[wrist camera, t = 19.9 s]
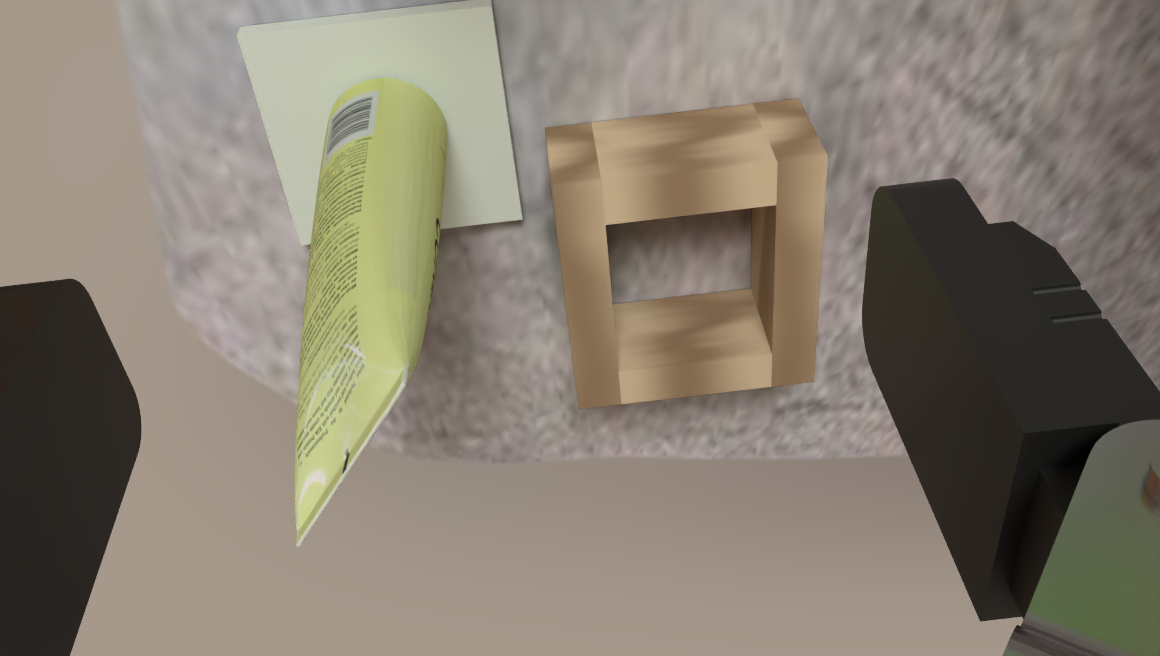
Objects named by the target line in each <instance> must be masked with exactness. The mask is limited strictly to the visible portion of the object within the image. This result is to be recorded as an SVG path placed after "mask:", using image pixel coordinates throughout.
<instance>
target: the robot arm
mask: <svg viewBox="0 0 1160 656" xmlns="http://www.w3.org/2000/svg"><path fill="white" fill-rule="evenodd" d="M1080 284H1081V283H1080V281H1079V280H1078V279H1077V277H1076V276H1075V275H1074V273H1073V272H1072V270H1071V269H1070V268H1069V266H1068V265H1067V264H1066V262H1065V261H1064V259H1063V258H1062V257H1061V255H1060V254H1059V253H1058V251H1057V250H1056V249H1055V248H1054V247H1052V246H1051V245H1049V244H1048V243H1046V242H1045V241H1043V240H1041V239H1040V238H1038V237H1037V236H1035V235H1034V234H1032V233H1031V232H1029V231H1028V230H1026V229H1024V228H1023V227H1021V226H1020V225H1018V224H1017V223H1015V222H1014V221H1011V222H1002V223H993V224H988V223H987V222H986V220H985V219H984V217H983V216H982V214H981V213H980V211H979V210H978V208H977V207H976V205H975V204H974V202H973V201H972V199H971V198H970V196H969V194H968V193H967V191H966V190H965V188H964V187H963V185H962V184H961V183H960V182H959V181H958V180H957V179H954V178H950V179H941V180H933V181H924V182H916V183H907V184H898V185H890V186H882V187H879V188H878V189H877V190H876V192H875V195H874V198H873V202H872V209H871V219H870V230H869V241H868V251H867V262H866V273H865V284H864V294H863V305H862V326H863V336H864V343H865V348H866V353H867V357H868V360H869V364H870V366H871V369H872V371H873V374H874V376H875V378H876V381H877V383H878V385H879V388H880V390H881V392H882V395H883V397H884V399H885V402H886V404H887V406H888V409H889V411H890V413H891V416H892V418H893V420H894V422H895V425H896V427H897V429H898V432H899V434H900V436H901V439H902V441H903V443H904V446H905V448H906V450H907V453H908V455H909V457H910V460H911V462H912V464H913V467H914V469H915V471H916V473H917V476H918V478H919V481H920V483H921V485H922V487H923V490H924V492H925V494H926V497H927V499H928V501H929V504H930V506H931V508H932V511H933V513H934V515H935V518H936V520H937V522H938V525H939V527H940V529H941V532H942V534H943V536H944V539H945V541H946V543H947V546H948V548H949V550H950V552H951V555H952V557H953V559H954V562H955V564H956V566H957V569H958V571H959V573H960V576H961V578H962V580H963V583H964V585H965V587H966V590H967V592H968V594H969V597H970V599H971V601H972V603H973V606H974V608H975V611H976V613H977V615H978V617H979V620H980V621H988V620H996V619H1005V618H1013V617H1023V619H1024V621H1023V623H1022V625H1021V626H1018V625H1017V626H1016V627H1015V629H1014V631H1013V633H1012V635H1011V637H1010V640H1009V642H1008V644H1007V647H1006V649H1005V651H1004V654H1003V656H1160V392H1159V390H1158V389H1157V387H1156V386H1155V385H1154V383H1153V382H1152V381H1151V379H1150V378H1149V376H1148V375H1147V374H1146V372H1145V371H1144V370H1143V368H1142V367H1141V365H1140V364H1139V363H1138V361H1137V360H1136V359H1135V357H1134V356H1133V354H1132V353H1131V352H1130V350H1129V349H1128V348H1127V346H1126V345H1125V343H1124V342H1123V341H1122V339H1121V338H1120V337H1119V335H1118V334H1117V332H1116V331H1115V330H1114V328H1113V327H1112V326H1111V324H1110V323H1109V321H1108V320H1107V319H1102V317H1101V310H1100V309H1099V308H1098V306H1097V305H1096V303H1095V302H1094V301H1093V299H1092V298H1091V297H1090V295H1089V294H1088V292H1087V291H1086V290H1081V287H1080ZM140 441H141V416H140V409H139V404H138V400H137V397H136V394H135V391H134V389H133V386H132V384H131V382H130V380H129V378H128V376H127V374H126V371H125V370H124V367H123V365H122V363H121V361H120V359H119V356H118V354H117V352H116V350H115V348H114V346H113V344H112V342H111V339H110V337H109V335H108V333H107V331H106V329H105V327H104V324H103V322H102V320H101V318H100V316H99V314H98V312H97V309H96V307H95V305H94V303H93V301H92V299H91V297H90V295H89V293H88V292H87V290H86V289H85V287H84V286H83V285H82V284H81V283H80V282H78V281H76V280H74V279H64V280H55V281H47V282H38V283H30V284H21V285H13V286H4V287H0V656H70V654H71V650H72V648H73V645H74V642H75V639H76V636H77V633H78V630H79V627H80V624H81V620H82V618H83V615H84V612H85V609H86V606H87V603H88V600H89V597H90V594H91V591H92V588H93V585H94V582H95V579H96V576H97V573H98V570H99V567H100V564H101V562H102V559H103V555H104V553H105V550H106V547H107V544H108V540H109V538H110V535H111V532H112V529H113V526H114V523H115V520H116V517H117V514H118V511H119V508H120V505H121V502H122V499H123V496H124V493H125V490H126V487H127V484H128V481H129V478H130V475H131V472H132V469H133V467H134V463H135V461H136V457H137V455H138V451H139V448H140Z"/></svg>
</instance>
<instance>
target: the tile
mask: <svg viewBox="0 0 1160 656" xmlns="http://www.w3.org/2000/svg"><path fill="white" fill-rule="evenodd" d="M237 37H238V40H239V44H240V47H241V50H242V54H243V57H244V60H245V64H246V67H247V70H248V73H249V77H250V80H251V83H252V87H253V90H254V93H255V96H256V100H257V103H258V106H259V110H260V113H261V116H262V119H263V123H264V126H265V129H266V133H267V136H268V139H269V142H270V146H271V149H272V152H273V156H274V159H275V162H276V166H277V169H278V172H279V175H280V179H281V182H282V185H283V189H284V192H285V195H286V198H287V202H288V205H289V208H290V212H291V215H292V218H293V221H294V225H295V228H296V231H297V235H298V238H299V241H300V244H301V245H308V244H311V236H312V227H313V219H314V212H315V204H316V196H317V188H318V181H319V174H320V168H321V161H322V155H323V148H324V142H325V136H326V130H327V124H328V119H329V116H330V112H331V110H332V108H333V106H334V104H335V103H336V101H337V100H338V98H339V97H340V96H341V95H342V94H343V93H344V92H345V91H346V90H348V89H349V88H351V87H352V86H354V85H356V84H358V83H360V82H363V81H366V80H370V79H375V78H394V79H399V80H403V81H406V82H409V83H412V84H414V85H415V86H417V87H419V88H421V89H422V90H424V91H425V92H426V93H427V94H428V95H430V96H431V97H432V99H433V100H434V101H435V102H436V103H437V105H438V106H439V108H440V110H441V111H442V113H443V116H444V119H445V122H446V126H447V153H446V169H445V184H444V196H443V207H442V218H441V229H446V228H454V227H463V226H472V225H480V224H489V223H497V222H506V221H515V220H523V218H522V207H521V200H520V193H519V186H518V179H517V172H516V165H515V158H514V151H513V145H512V138H511V131H510V124H509V117H508V110H507V103H506V96H505V90H504V83H503V76H502V69H501V62H500V55H499V48H498V41H497V34H496V28H495V21H494V14H493V7H492V0H468V1H459V2H450V3H442V4H433V5H425V6H416V7H407V8H399V9H390V10H381V11H373V12H364V13H356V14H347V15H338V16H330V17H321V18H312V19H304V20H295V21H287V22H278V23H269V24H261V25H252V26H243V27H240V29H239V31H238V34H237Z"/></svg>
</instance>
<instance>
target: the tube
mask: <svg viewBox="0 0 1160 656" xmlns="http://www.w3.org/2000/svg"><path fill="white" fill-rule="evenodd" d="M446 153H447V126H446V122H445V119H444V116H443V113H442V111H441V110H440V108H439V106H438V105H437V103H436V102H435V101H434V100H433V99H432V97H431V96H430V95H428V94H427V93H426V92H425V91H424V90H422V89H421V88H419V87H417V86H415V85H414V84H412V83H409V82H406V81H403V80H399V79H394V78H375V79H370V80H366V81H363V82H360V83H358V84H356V85H354V86H352V87H351V88H349V89H348V90H346V91H345V92H344V93H343V94H342V95H341V96H340V97H339V98H338V100H337V101H336V103H335V104H334V106H333V108H332V110H331V112H330V116H329V119H328V124H327V130H326V136H325V142H324V148H323V155H322V161H321V168H320V174H319V181H318V188H317V196H316V204H315V212H314V219H313V227H312V236H311V245H310V254H309V263H308V274H307V285H306V295H305V306H304V317H303V330H302V343H301V356H300V373H299V391H298V407H297V408H298V409H297V423H296V444H295V519H296V527H297V534H298V535H297V541H296V544H297V547H300V546H301V544H302V543H303V541H304V540H305V538H306V536H307V535H308V533H309V532H310V530H311V529H312V527H313V526H314V524H315V522H316V521H317V519H318V518H319V516H320V515H321V513H322V512H323V510H324V509H325V508H326V506H327V505H328V503H329V502H330V500H331V499H332V497H333V496H334V494H335V493H336V491H337V490H338V488H339V486H340V485H341V483H342V482H343V480H344V479H345V477H346V475H347V474H348V472H349V471H350V469H351V468H352V467H353V465H354V464H355V462H356V461H357V459H358V458H359V456H360V455H361V454H362V452H363V450H364V449H365V448H366V446H367V445H368V443H369V442H370V440H371V438H372V437H373V435H374V434H375V432H376V431H377V429H378V428H379V427H380V425H381V424H382V422H383V421H384V420H385V418H386V417H387V415H388V414H389V412H390V411H391V409H392V408H393V406H394V405H395V403H396V402H397V400H398V399H399V397H400V396H401V394H402V392H403V390H404V388H405V387H406V384H407V383H408V381H409V379H410V378H411V376H412V374H413V372H414V370H415V368H416V365H417V362H418V359H419V355H420V351H421V347H422V344H423V339H424V333H425V328H426V324H427V319H428V314H429V309H430V304H431V298H432V292H433V286H434V278H435V271H436V264H437V256H438V249H439V240H440V229H441V218H442V207H443V196H444V184H445V169H446Z"/></svg>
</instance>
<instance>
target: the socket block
mask: <svg viewBox="0 0 1160 656" xmlns="http://www.w3.org/2000/svg"><path fill="white" fill-rule="evenodd" d="M545 130H546V140H547V150H548V160H549V169H550V179H551V189H552V197H553V205H554V213H555V221H556V229H557V237H558V246H559V254H560V262H561V270H562V278H563V286H564V294H565V302H566V310H567V318H568V327H569V335H570V343H571V351H572V359H573V367H574V375H575V383H576V391H577V400H578V408H579V409H585V408H594V407H602V406H611V405H619V404H628V403H637V402H645V401H654V400H662V399H671V398H680V397H688V396H697V395H705V394H714V393H722V392H731V391H740V390H748V389H757V388H765V387H774V386H782V385H791V384H800V383H808V382H814V374H815V358H816V341H817V325H818V309H819V293H820V276H821V260H822V244H823V228H824V211H825V195H826V179H827V163H828V156H827V154H826V152H825V150H824V148H823V146H822V144H821V142H820V140H819V138H818V136H817V134H816V132H815V130H814V128H813V126H812V124H811V122H810V120H809V118H808V116H807V114H806V112H805V110H804V108H803V106H802V104H801V102H800V100H799V98H798V99H789V100H781V101H772V102H763V103H755V104H746V105H738V106H729V107H720V108H712V109H703V110H695V111H686V112H677V113H669V114H660V115H652V116H643V117H634V118H626V119H617V120H608V121H600V122H591V123H583V124H574V125H565V126H557V127H548V128H545ZM748 208H752V209H751V288H749V289H741V290H732V291H724V292H715V293H706V294H698V295H689V296H681V297H672V298H664V299H655V300H646V301H638V302H629V303H621V304H613V303H612V292H611V281H610V270H609V258H608V247H607V236H606V225H610V224H619V223H627V222H636V221H645V220H653V219H662V218H670V217H679V216H688V215H696V214H705V213H713V212H722V211H731V210H739V209H748Z"/></svg>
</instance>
